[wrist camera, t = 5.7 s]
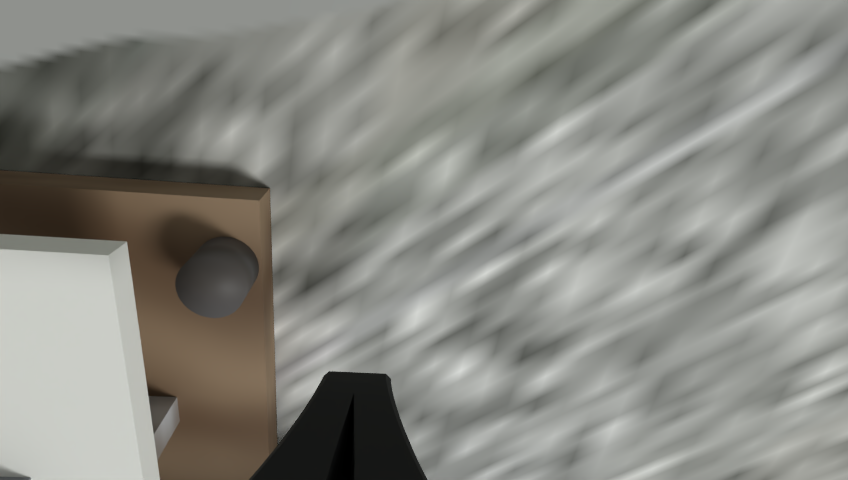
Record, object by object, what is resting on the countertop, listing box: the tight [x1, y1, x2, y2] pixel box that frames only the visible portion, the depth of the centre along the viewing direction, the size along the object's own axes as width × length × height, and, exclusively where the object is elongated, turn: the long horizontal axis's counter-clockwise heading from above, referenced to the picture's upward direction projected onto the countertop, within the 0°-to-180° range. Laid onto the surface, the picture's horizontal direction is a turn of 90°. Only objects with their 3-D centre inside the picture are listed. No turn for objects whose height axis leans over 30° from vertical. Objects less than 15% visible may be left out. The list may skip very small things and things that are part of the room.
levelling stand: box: [0, 170, 277, 480], centre depth 20 cm, size 18×16×4 cm
